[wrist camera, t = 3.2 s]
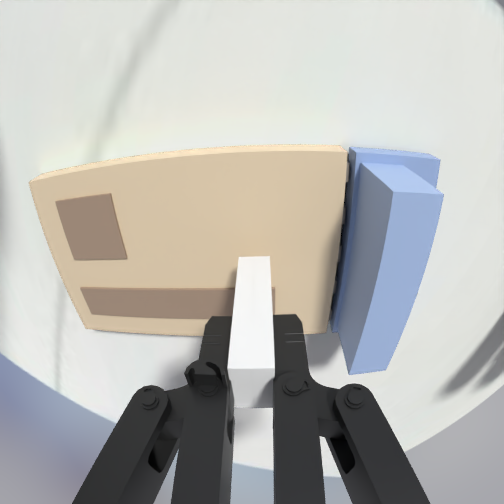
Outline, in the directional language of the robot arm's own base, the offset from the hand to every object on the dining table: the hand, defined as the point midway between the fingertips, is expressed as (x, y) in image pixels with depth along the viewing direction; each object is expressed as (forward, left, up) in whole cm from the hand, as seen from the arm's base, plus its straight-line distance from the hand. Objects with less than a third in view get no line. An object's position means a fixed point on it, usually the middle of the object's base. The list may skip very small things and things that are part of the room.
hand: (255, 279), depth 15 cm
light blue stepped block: (+5, +5, -3) cm, 8 cm away
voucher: (-3, -3, -3) cm, 5 cm away
